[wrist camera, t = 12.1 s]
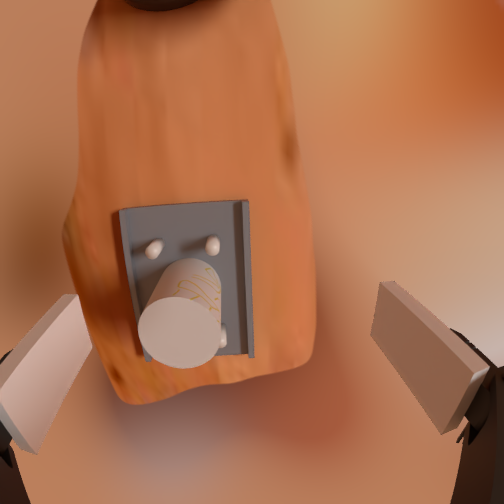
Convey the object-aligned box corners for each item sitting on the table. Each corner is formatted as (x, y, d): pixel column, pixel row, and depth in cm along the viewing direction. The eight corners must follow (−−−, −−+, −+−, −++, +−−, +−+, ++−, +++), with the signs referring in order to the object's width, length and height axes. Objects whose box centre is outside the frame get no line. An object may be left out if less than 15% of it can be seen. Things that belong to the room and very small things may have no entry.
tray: (124, 208, 36) (110, 214, 32) (247, 199, 38) (251, 204, 33) (148, 353, 43) (141, 372, 38) (253, 349, 44) (256, 369, 39)
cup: (232, 299, 40) (236, 349, 29) (180, 324, 41) (168, 378, 29) (201, 246, 38) (192, 282, 26) (148, 275, 38) (122, 318, 27)
